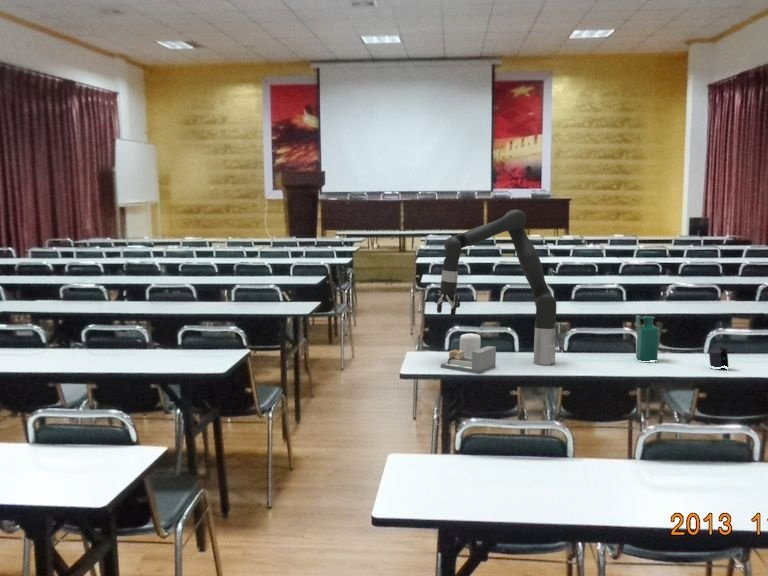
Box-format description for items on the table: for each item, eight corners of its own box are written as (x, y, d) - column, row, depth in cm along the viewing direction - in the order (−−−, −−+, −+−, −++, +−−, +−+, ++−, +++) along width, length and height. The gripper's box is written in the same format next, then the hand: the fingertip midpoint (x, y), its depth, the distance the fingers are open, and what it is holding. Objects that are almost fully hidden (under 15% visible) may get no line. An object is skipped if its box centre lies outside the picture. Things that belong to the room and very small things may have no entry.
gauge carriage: (464, 361, 331) (464, 350, 330) (453, 365, 322) (453, 354, 321) (454, 359, 333) (455, 349, 333) (443, 364, 325) (443, 353, 324)
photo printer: (478, 357, 348) (479, 332, 346) (481, 359, 344) (481, 334, 342) (458, 357, 346) (458, 333, 345) (460, 359, 342) (460, 334, 341)
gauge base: (495, 367, 328) (496, 346, 326) (479, 373, 314) (480, 352, 313) (457, 361, 339) (457, 341, 338) (440, 367, 326) (441, 347, 324)
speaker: (726, 367, 330) (725, 345, 329) (728, 370, 325) (728, 348, 323) (708, 367, 332) (708, 346, 331) (710, 371, 327) (710, 349, 325)
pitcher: (652, 358, 348) (654, 314, 346) (658, 362, 340) (661, 317, 337) (632, 358, 348) (634, 314, 346) (638, 362, 340) (640, 317, 337)
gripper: (465, 282, 329) (462, 316, 331) (443, 277, 339) (440, 311, 341) (455, 282, 323) (451, 317, 326) (432, 278, 334) (429, 312, 336)
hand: (445, 314), depth 333 cm, fingers open, 8 cm apart
